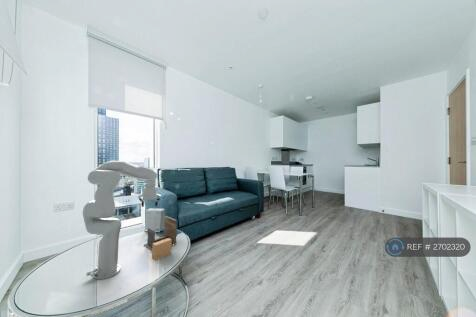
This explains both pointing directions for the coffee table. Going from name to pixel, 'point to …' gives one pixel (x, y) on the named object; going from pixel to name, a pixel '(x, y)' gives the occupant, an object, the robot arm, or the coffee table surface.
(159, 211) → the hard drive box
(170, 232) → the book rack
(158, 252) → the book
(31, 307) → the coffee table surface
